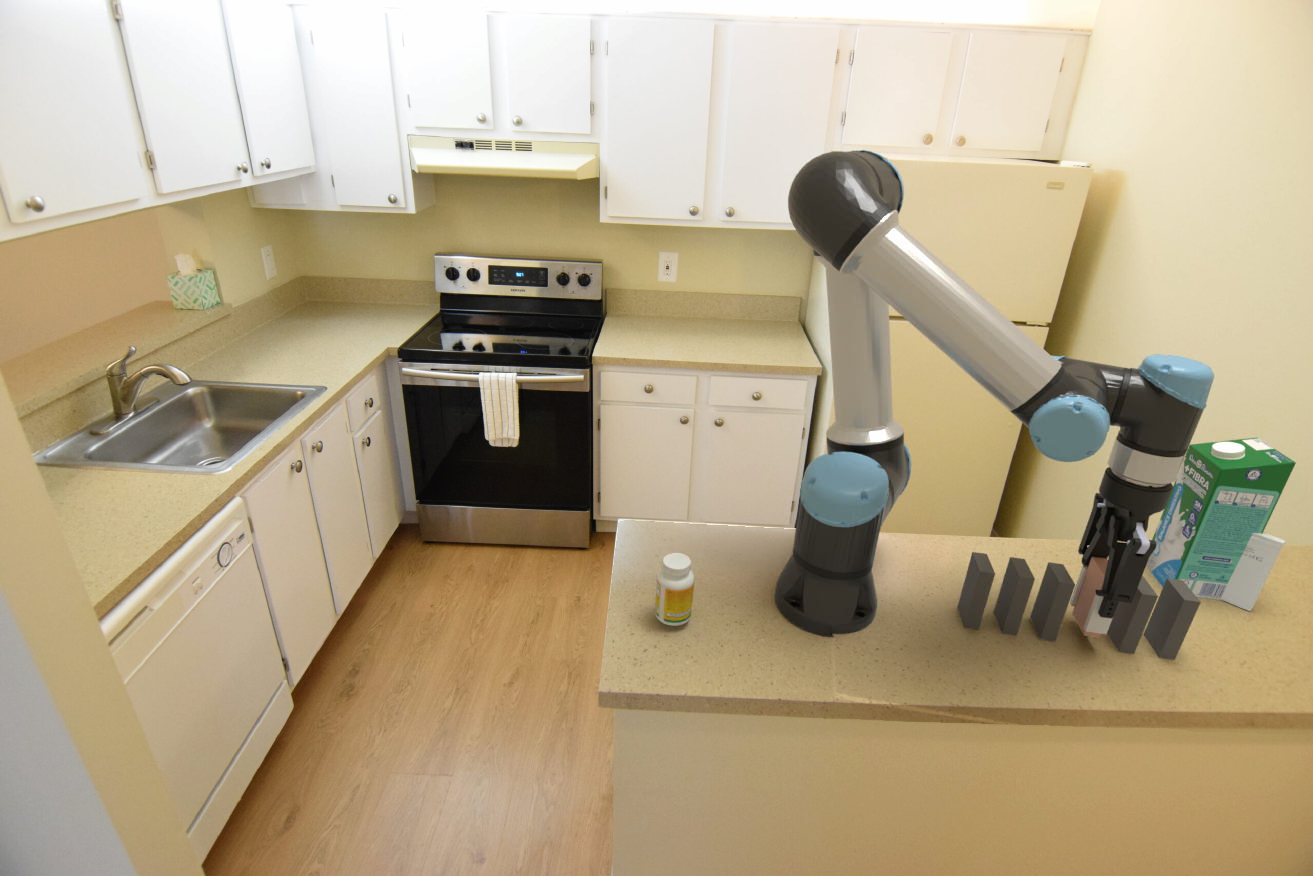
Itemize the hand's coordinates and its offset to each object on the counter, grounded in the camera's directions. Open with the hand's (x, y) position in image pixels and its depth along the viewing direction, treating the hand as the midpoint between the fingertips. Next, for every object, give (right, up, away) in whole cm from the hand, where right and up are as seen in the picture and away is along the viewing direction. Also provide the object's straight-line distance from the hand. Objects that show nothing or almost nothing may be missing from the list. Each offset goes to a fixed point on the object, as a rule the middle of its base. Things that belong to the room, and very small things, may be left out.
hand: (1087, 618), depth 99 cm
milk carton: (+25, +2, +15) cm, 29 cm away
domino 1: (-16, -1, +4) cm, 16 cm away
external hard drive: (+28, 0, +11) cm, 30 cm away
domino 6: (+10, -4, 0) cm, 11 cm away
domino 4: (0, -1, +1) cm, 1 cm away
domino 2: (-10, -2, +3) cm, 11 cm away
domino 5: (+5, -3, +1) cm, 6 cm away
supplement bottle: (-60, 0, +2) cm, 60 cm away
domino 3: (-5, -2, +2) cm, 6 cm away
